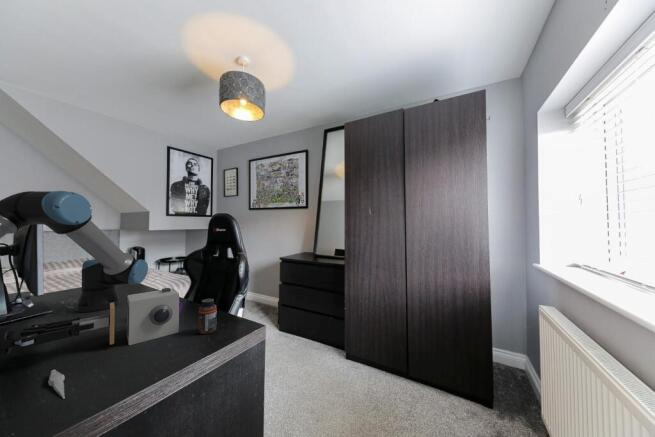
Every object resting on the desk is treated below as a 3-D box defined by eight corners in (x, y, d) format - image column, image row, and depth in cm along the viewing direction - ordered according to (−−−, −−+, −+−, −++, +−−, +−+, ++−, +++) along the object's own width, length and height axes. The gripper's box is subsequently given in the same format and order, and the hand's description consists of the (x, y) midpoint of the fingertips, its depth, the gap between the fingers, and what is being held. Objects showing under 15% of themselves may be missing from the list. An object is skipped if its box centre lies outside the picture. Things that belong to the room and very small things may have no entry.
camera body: (126, 335, 85) (126, 292, 86) (173, 324, 95) (173, 285, 95) (128, 348, 76) (129, 300, 77) (180, 334, 86) (180, 291, 86)
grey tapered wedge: (44, 378, 62) (45, 370, 62) (60, 373, 64) (60, 365, 64) (55, 406, 53) (55, 397, 53) (72, 399, 55) (72, 391, 55)
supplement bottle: (195, 331, 88) (196, 300, 89) (212, 326, 93) (212, 296, 93) (201, 336, 84) (202, 303, 85) (219, 330, 89) (219, 299, 89)
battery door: (73, 344, 76) (73, 308, 76) (113, 334, 83) (114, 302, 83) (70, 354, 70) (71, 316, 70) (114, 343, 76) (114, 308, 77)
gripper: (-5, 348, 68) (107, 324, 84) (-27, 372, 57) (108, 340, 73) (-4, 321, 68) (108, 302, 84) (-25, 340, 57) (109, 314, 73)
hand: (108, 320), depth 79 cm, fingers closed on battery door, 2 cm apart
